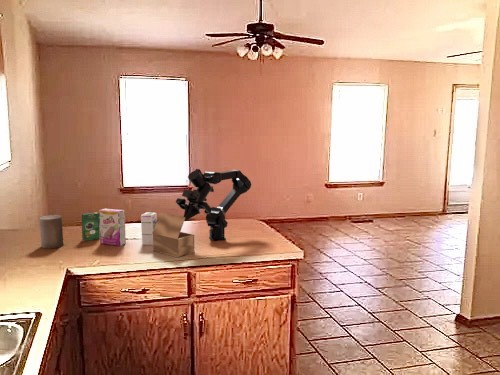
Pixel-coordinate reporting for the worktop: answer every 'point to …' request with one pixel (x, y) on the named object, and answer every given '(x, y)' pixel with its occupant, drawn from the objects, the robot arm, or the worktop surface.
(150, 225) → the syrup box
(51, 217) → the pillar candle
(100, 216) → the candy bar box
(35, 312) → the worktop surface
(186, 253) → the light wood open box
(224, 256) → the worktop surface
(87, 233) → the coffee box
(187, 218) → the robot arm
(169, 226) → the flap
